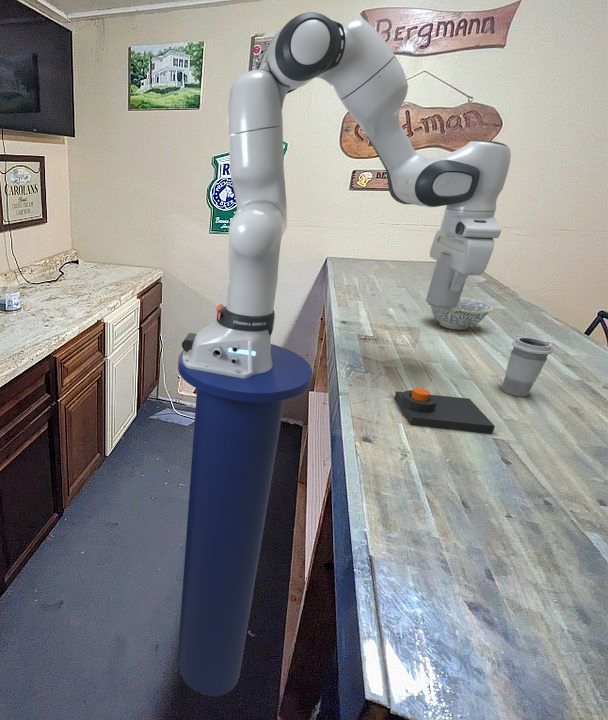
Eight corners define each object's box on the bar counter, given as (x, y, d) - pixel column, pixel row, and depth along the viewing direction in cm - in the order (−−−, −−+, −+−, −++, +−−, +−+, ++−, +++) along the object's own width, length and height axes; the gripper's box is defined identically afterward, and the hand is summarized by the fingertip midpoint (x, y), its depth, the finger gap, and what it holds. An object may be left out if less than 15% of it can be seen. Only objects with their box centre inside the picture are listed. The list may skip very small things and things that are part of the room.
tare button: (413, 401, 91) (415, 393, 90) (408, 394, 94) (411, 386, 93) (430, 403, 91) (432, 395, 90) (425, 396, 93) (427, 388, 92)
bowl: (480, 322, 144) (487, 299, 141) (489, 338, 131) (497, 314, 128) (421, 315, 151) (427, 293, 148) (424, 329, 138) (431, 306, 135)
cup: (541, 400, 98) (563, 349, 93) (506, 397, 99) (526, 346, 94) (521, 385, 104) (541, 336, 99) (489, 383, 105) (507, 334, 101)
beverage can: (458, 311, 103) (475, 257, 98) (425, 306, 105) (440, 254, 100) (455, 304, 108) (472, 253, 103) (424, 300, 110) (438, 250, 106)
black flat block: (408, 424, 89) (412, 408, 88) (392, 397, 99) (395, 383, 98) (492, 433, 86) (498, 417, 85) (467, 405, 96) (472, 390, 95)
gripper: (431, 217, 109) (416, 274, 114) (470, 229, 90) (449, 297, 96) (461, 218, 107) (444, 276, 113) (506, 230, 89) (483, 299, 95)
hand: (446, 285), depth 105 cm, fingers closed on beverage can, 6 cm apart
